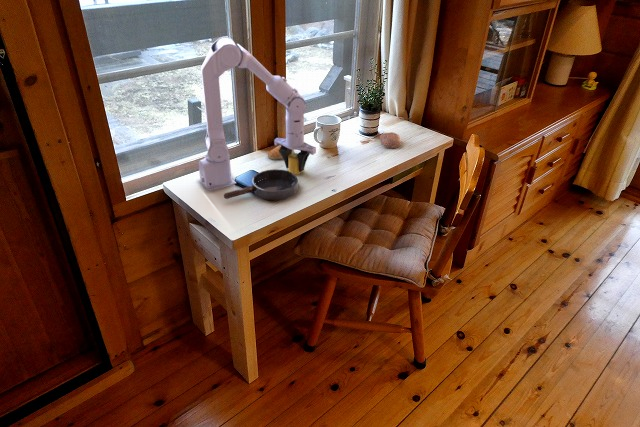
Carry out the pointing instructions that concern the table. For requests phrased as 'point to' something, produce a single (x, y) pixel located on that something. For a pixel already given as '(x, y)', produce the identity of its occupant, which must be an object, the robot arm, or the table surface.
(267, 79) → the robot arm
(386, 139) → the pinkish-brown rounded lump
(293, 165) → the yellow cylinder
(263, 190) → the skillet
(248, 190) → the skillet handle
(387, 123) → the table surface
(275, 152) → the pastry
